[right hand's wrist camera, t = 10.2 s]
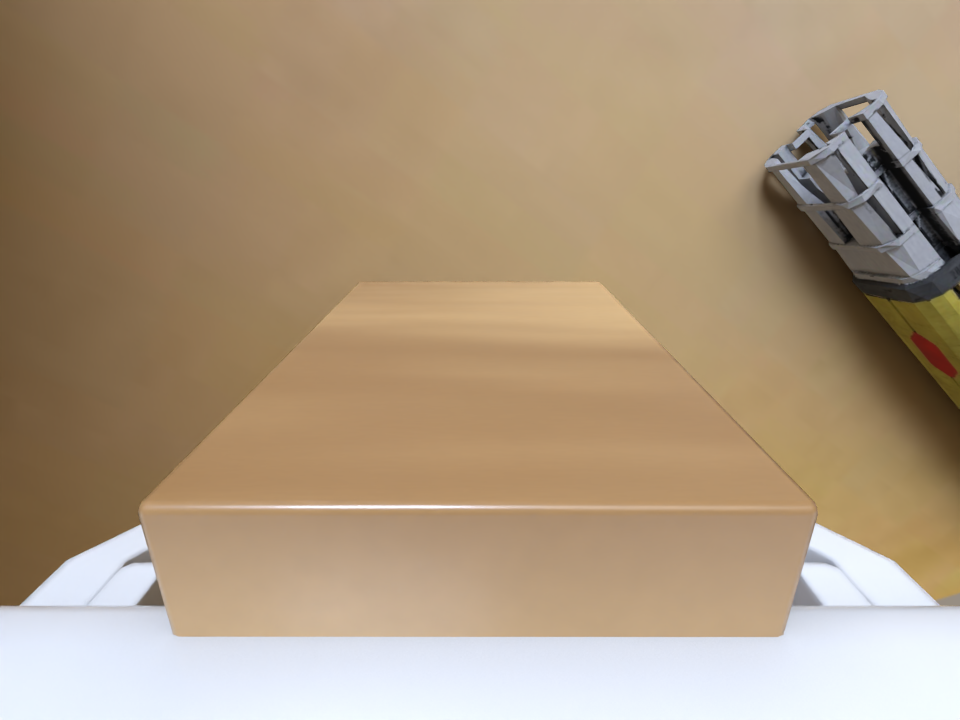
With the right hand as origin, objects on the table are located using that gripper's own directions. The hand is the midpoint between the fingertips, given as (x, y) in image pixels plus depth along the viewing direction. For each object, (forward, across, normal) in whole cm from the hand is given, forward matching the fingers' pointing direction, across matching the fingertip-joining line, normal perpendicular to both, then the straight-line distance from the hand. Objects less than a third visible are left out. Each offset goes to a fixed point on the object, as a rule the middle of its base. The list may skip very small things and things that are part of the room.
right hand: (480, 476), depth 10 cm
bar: (+3, 0, -10) cm, 10 cm away
